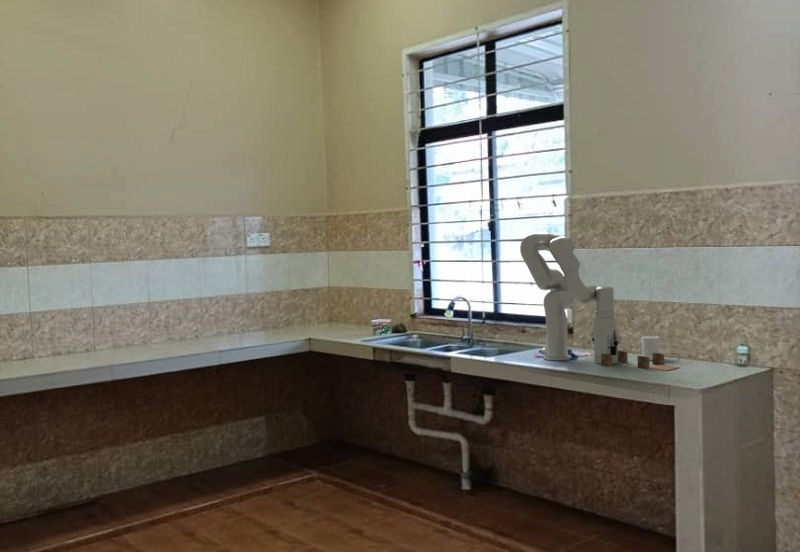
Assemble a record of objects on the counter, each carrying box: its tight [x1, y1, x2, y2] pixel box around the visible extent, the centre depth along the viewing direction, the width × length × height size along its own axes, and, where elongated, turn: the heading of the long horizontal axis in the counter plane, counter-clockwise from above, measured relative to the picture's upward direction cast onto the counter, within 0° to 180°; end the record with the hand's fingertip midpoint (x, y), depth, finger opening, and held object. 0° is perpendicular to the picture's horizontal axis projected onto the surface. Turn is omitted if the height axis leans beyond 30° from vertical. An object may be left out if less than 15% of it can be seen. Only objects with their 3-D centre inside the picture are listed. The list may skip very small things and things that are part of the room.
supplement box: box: [593, 335, 619, 365], centre depth 336 cm, size 7×7×13 cm
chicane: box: [600, 350, 665, 370], centre depth 328 cm, size 20×17×5 cm
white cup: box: [640, 335, 661, 361], centre depth 341 cm, size 8×8×10 cm
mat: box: [649, 364, 680, 372], centre depth 319 cm, size 9×9×1 cm
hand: (606, 353), depth 336 cm, fingers closed on supplement box, 7 cm apart
